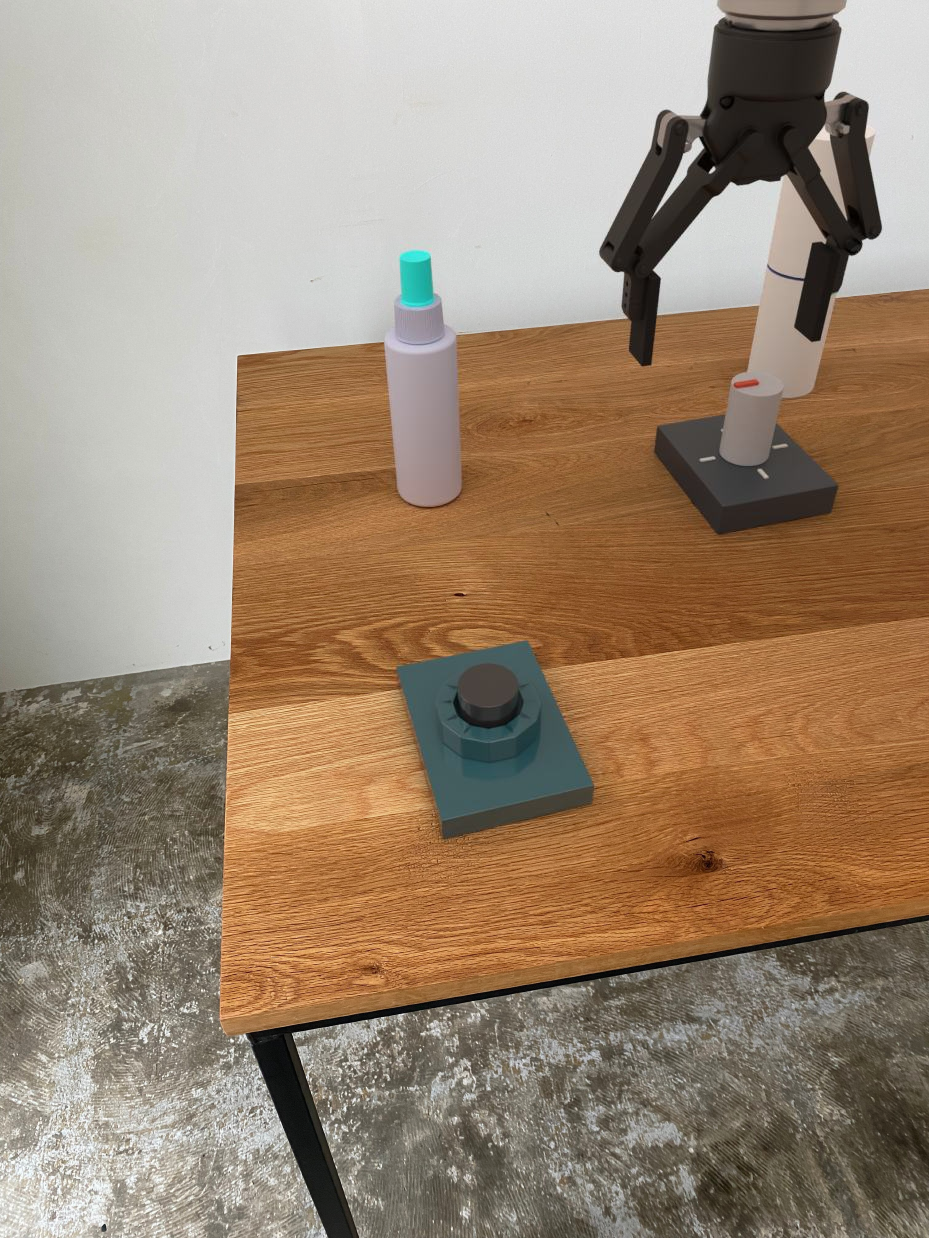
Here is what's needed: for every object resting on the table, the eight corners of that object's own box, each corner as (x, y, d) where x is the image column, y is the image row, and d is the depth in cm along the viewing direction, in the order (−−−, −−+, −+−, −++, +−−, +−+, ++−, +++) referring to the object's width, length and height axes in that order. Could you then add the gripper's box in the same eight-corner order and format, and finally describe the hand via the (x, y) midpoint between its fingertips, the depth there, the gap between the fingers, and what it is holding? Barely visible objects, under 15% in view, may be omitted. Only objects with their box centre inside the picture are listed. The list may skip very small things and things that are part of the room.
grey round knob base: (592, 804, 61) (596, 764, 58) (442, 839, 59) (439, 800, 56) (527, 658, 71) (528, 619, 68) (398, 685, 69) (393, 646, 66)
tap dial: (754, 437, 87) (768, 365, 82) (777, 461, 84) (794, 388, 79) (710, 444, 87) (723, 372, 82) (733, 469, 83) (747, 396, 78)
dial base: (831, 513, 83) (839, 483, 81) (717, 534, 81) (723, 504, 79) (756, 434, 93) (762, 406, 91) (653, 452, 92) (657, 423, 89)
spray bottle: (468, 504, 86) (460, 266, 71) (403, 513, 85) (381, 275, 70) (455, 469, 90) (445, 238, 76) (393, 477, 90) (371, 246, 75)
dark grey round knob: (525, 721, 61) (526, 699, 60) (466, 734, 61) (466, 712, 59) (508, 679, 64) (508, 657, 63) (452, 691, 64) (450, 669, 62)
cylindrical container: (732, 376, 102) (775, 126, 86) (782, 360, 105) (835, 114, 88) (776, 404, 98) (832, 146, 81) (828, 387, 100) (893, 132, 83)
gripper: (604, 46, 52) (583, 392, 66) (1001, 11, 56) (901, 345, 70) (562, 22, 57) (551, 346, 72) (927, -9, 61) (848, 305, 75)
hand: (724, 346), depth 71 cm, fingers open, 13 cm apart
